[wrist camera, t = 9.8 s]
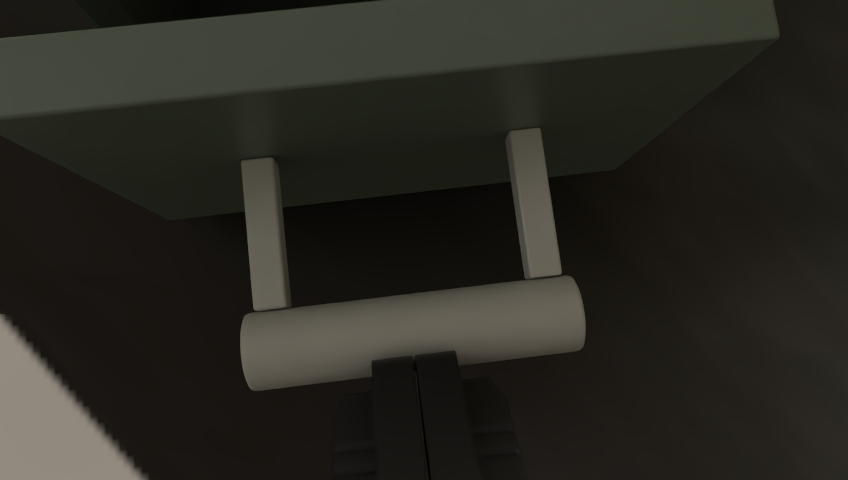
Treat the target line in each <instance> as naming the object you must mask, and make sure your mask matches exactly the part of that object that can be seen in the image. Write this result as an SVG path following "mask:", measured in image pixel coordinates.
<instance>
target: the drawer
mask: <svg viewBox="0 0 848 480" xmlns="http://www.w3.org/2000/svg"><path fill="white" fill-rule="evenodd" d="M72 1H73V2H74V3H75V4H76V5H77V6H78V7H79V8H80V9H81V10H82V11H83V12H84V13H85V14H86V15H87V17H88V18H89V19H90V20H91V21H92V22H93V23H94V24H95V25H96V26H97V27H98V28H99V29H89V30H79V31H69V32H59V33H48V34H38V35H28V36H18V37H8V38H0V135H1V136H3V137H5V138H7V139H9V140H11V141H13V142H15V143H17V144H19V145H21V146H23V147H25V148H27V149H29V150H31V151H33V152H35V153H37V154H39V155H41V156H43V157H45V158H47V159H49V160H51V161H53V162H55V163H56V164H58V165H60V166H62V167H64V168H66V169H68V170H70V171H72V172H74V173H76V174H78V175H80V176H82V177H84V178H86V179H88V180H90V181H92V182H94V183H96V184H98V185H100V186H102V187H104V188H106V189H108V190H110V191H112V192H114V193H116V194H118V195H120V196H122V197H124V198H126V199H128V200H130V201H132V202H134V203H136V204H138V205H140V206H142V207H144V208H146V209H148V210H150V211H152V212H154V213H156V214H158V215H160V216H162V217H164V218H166V219H168V220H176V219H185V218H194V217H202V216H211V215H220V214H229V213H238V212H245V216H246V228H247V240H248V251H249V263H250V275H251V286H252V298H253V309H254V310H255V311H258V312H254V313H249V314H247V315H245V316H244V318H243V321H242V326H241V333H240V350H241V361H242V367H243V372H244V376H245V379H246V381H247V384H248V386H249V387H250V389H251V390H254V391H261V390H269V389H277V388H285V387H293V386H301V385H309V384H317V383H325V382H333V381H341V380H349V379H357V378H365V377H372V367H371V361H372V360H380V359H388V358H396V357H405V356H412V362H413V371H417V370H416V360H415V355H420V354H428V353H436V352H444V351H453V350H455V351H456V355H457V360H458V365H459V366H461V365H470V364H478V363H486V362H494V361H502V360H510V359H518V358H526V357H534V356H542V355H550V354H558V353H566V352H574V351H579V350H580V349H582V348H583V346H584V342H585V335H586V321H585V312H584V306H583V301H582V297H581V294H580V291H579V288H578V286H577V284H576V282H575V280H574V279H573V278H572V277H571V276H568V275H563V276H559V275H561V274H562V269H561V262H560V255H559V249H558V242H557V235H556V229H555V222H554V215H553V209H552V202H551V195H550V189H549V182H548V177H557V176H566V175H574V174H583V173H592V172H601V171H610V170H615V169H616V168H618V167H619V166H620V165H621V164H623V163H624V162H625V161H626V160H628V159H629V158H630V157H631V156H633V155H634V154H635V153H636V152H638V151H639V150H640V149H641V148H643V147H644V146H645V145H646V144H647V143H649V142H650V141H651V140H652V139H654V138H655V137H656V136H657V135H659V134H660V133H661V132H662V131H664V130H665V129H666V128H667V127H669V126H670V125H671V124H672V123H674V122H675V121H676V120H677V119H679V118H680V117H681V116H682V115H684V114H685V113H686V112H687V111H689V110H690V109H691V108H692V107H694V106H695V105H696V104H697V103H698V102H700V101H701V100H702V99H703V98H705V97H706V96H707V95H708V94H710V93H711V92H712V91H713V90H715V89H716V88H717V87H718V86H720V85H721V84H722V83H723V82H725V81H726V80H727V79H728V78H730V77H731V76H732V75H733V74H735V73H736V72H737V71H738V70H740V69H741V68H742V67H743V66H744V65H746V64H747V63H748V62H749V61H751V60H752V59H753V58H754V57H756V56H757V55H758V54H759V53H761V52H762V51H763V50H764V49H766V48H767V47H768V46H769V45H771V44H772V43H773V42H774V41H776V40H777V39H778V38H779V36H780V32H779V27H778V22H777V17H776V12H775V7H774V3H773V0H72ZM504 182H511V185H512V192H513V199H514V206H515V213H516V220H517V227H518V234H519V241H520V248H521V255H522V262H523V269H524V276H525V280H522V281H513V282H505V283H497V284H488V285H480V286H471V287H463V288H455V289H446V290H438V291H430V292H421V293H413V294H405V295H396V296H388V297H379V298H371V299H363V300H354V301H346V302H338V303H329V304H321V305H313V306H304V307H296V308H291V295H290V285H289V274H288V263H287V253H286V242H285V231H284V221H283V210H282V207H291V206H300V205H309V204H318V203H326V202H335V201H344V200H353V199H362V198H371V197H380V196H388V195H397V194H406V193H415V192H424V191H433V190H442V189H450V188H459V187H468V186H477V185H486V184H495V183H504Z"/></svg>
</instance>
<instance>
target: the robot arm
mask: <svg viewBox="0 0 848 480" xmlns="http://www.w3.org/2000/svg"><path fill="white" fill-rule="evenodd" d="M415 360H416V370H417V380H418V390H419V400H420V409H421V419H422V427H423V436H424V444H425V452H426V460H427V468H428V476H429V480H527V477H526V473H525V469H524V465H523V461H522V457H521V453H520V452H519V446H518V442H517V438H516V434H515V431H514V428H513V422H512V418H511V415H510V411H509V407H508V403H507V399H506V397H505V396H504V395H503V394H502V393H501V391H500V390H499V389H498V388H497V386H496V385H495V384H494V383H493V382H492V380H491V379H490V378H489V377H483V378H475V379H466V380H461V375H460V370H459V365H458V360H457V355H456V351H455V350H453V351H444V352H436V353H428V354H420V355H415ZM371 367H372V385H373V391H371V392H363V393H355V394H347V395H344V397H343V399H342V401H341V403H340V405H339V408H338V410H337V412H336V414H335V416H334V418H333V420H332V450H333V454H332V473H333V477H332V480H427V476H426V468H425V460H424V452H423V444H422V436H421V428H420V419H419V411H418V403H417V395H416V387H415V379H414V371H413V362H412V356H405V357H396V358H388V359H380V360H372V361H371Z"/></svg>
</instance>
